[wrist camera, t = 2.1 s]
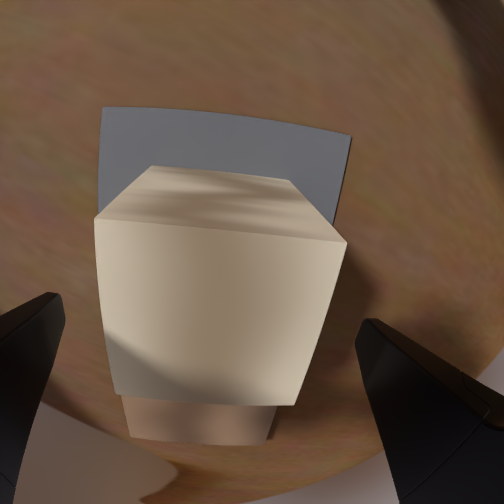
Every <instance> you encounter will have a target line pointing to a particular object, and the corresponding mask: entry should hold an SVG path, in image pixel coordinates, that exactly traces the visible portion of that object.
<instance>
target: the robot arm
mask: <svg viewBox="0 0 504 504" xmlns="http://www.w3.org/2000/svg"><path fill="white" fill-rule="evenodd" d="M64 326H65V313H64V308H63V303H62V298H61V296H60V294H58V293H52V292H46V293H44V294H42V295H40V296H38V297H36V298H34V299H32V300H30V301H28V302H26V303H24V304H22V305H20V306H18V307H16V308H14V309H12V310H11V311H9V312H7V313H5V314H3V315H1V316H0V504H13V499H14V494H15V489H16V488H15V487H16V484H17V479H18V475H19V471H20V467H21V463H22V458H23V455H24V452H25V448H26V445H27V441H28V437H29V434H30V431H31V428H32V424H33V421H34V418H35V415H36V412H37V409H38V406H39V403H40V400H41V397H42V394H43V392H44V389H45V386H46V383H47V381H48V378H49V375H50V373H51V370H52V367H53V364H54V360H55V357H56V353H57V350H58V346H59V342H60V339H61V336H62V332H63V329H64ZM355 348H356V352H357V356H358V361H359V365H360V370H361V374H362V379H363V383H364V387H365V390H366V393H367V396H368V399H369V402H370V406H371V409H372V412H373V415H374V418H375V421H376V424H377V427H378V431H379V434H380V437H381V440H382V443H383V447H384V450H385V453H386V457H387V460H388V463H389V467H390V470H391V474H392V478H393V481H394V485H395V488H396V492H397V496H398V499H399V501H400V502H399V504H504V396H503V395H501V394H499V393H498V392H496V391H494V390H492V389H490V388H489V387H487V386H485V385H483V384H482V383H480V382H478V381H477V380H475V379H473V378H472V377H470V376H468V375H467V374H465V373H464V372H460V370H459V369H457V368H456V367H454V366H452V365H451V364H449V363H448V362H446V361H445V360H443V359H441V358H440V357H438V356H437V355H435V354H433V353H432V352H430V351H429V350H427V349H425V348H424V347H422V346H421V345H419V344H417V343H416V342H414V341H413V340H411V339H409V338H408V337H406V336H405V335H403V334H401V333H400V332H398V331H397V330H395V329H393V328H392V327H390V326H389V325H387V324H385V323H384V322H382V321H380V320H379V319H377V318H366V319H364V321H363V322H362V325H361V327H360V330H359V332H358V335H357V337H356V340H355Z"/></svg>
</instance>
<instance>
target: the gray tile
mask: <svg viewBox="0 0 504 504" xmlns="http://www.w3.org/2000/svg"><path fill="white" fill-rule="evenodd" d="M350 140H351V136H349V135H345V134H341V133H336V132H332V131H327V130H322V129H318V128H313V127H307V126H302V125H297V124H291V123H286V122H280V121H274V120H267V119H261V118H254V117H247V116H239V115H231V114H223V113H213V112H203V111H192V110H179V109H164V108H142V107H102V118H101V130H100V146H99V169H98V214H99V213H100V212H101V211H102V210H103V209H104V208H105V207H106V206H108V205H109V204H110V203H111V202H112V201H113V200H114V199H115V198H116V197H117V196H118V195H119V194H120V193H121V192H122V191H124V190H125V189H126V188H127V187H128V186H129V185H130V184H131V183H132V182H133V181H135V180H136V179H137V178H138V177H139V176H140V175H141V174H142V173H144V172H145V171H146V170H147V169H148V168H149V167H150V166H152V165H153V166H167V167H179V168H190V169H201V170H211V171H221V172H230V173H239V174H247V175H255V176H263V177H270V178H278V179H285V180H289V181H290V182H291V183H292V184H293V185H294V186H295V187H296V188H297V189H298V190H299V191H300V192H301V193H302V194H303V195H304V196H305V197H306V199H307V200H308V201H309V202H310V203H311V204H312V205H313V206H314V207H315V208H316V209H317V210H318V211H319V212H320V214H321V215H322V216H323V217H324V218H325V219H326V220H327V221H328V222H329V223H330V224H331V226H332V224H333V219H334V215H335V211H336V207H337V202H338V198H339V193H340V189H341V184H342V180H343V175H344V170H345V165H346V160H347V156H348V151H349V145H350Z"/></svg>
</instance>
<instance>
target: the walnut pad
mask: <svg viewBox="0 0 504 504" xmlns="http://www.w3.org/2000/svg"><path fill="white" fill-rule="evenodd" d="M121 397H122V402H123V406H124V411H125V415H126V420H127V424H128V428H129V432H130V436H131V437H135V438H142V439H149V440H158V441H167V442H177V443H190V444H206V445H264V444H265V441H266V438H267V436H268V433H269V430H270V427H271V424H272V421H273V419H274V416H275V413H276V410H277V407H278V405H275V406H252V405H219V404H201V403H187V402H176V401H166V400H157V399H148V398H140V397H133V396H126V395H121Z"/></svg>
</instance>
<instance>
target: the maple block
mask: <svg viewBox="0 0 504 504" xmlns="http://www.w3.org/2000/svg"><path fill="white" fill-rule="evenodd" d="M94 228H95V249H96V264H97V276H98V287H99V296H100V305H101V313H102V321H103V328H104V335H105V341H106V347H107V353H108V359H109V364H110V369H111V375H112V380H113V384H114V389H115V394H120V395H126V396H133V397H140V398H148V399H157V400H166V401H176V402H187V403H201V404H219V405H252V406H275V405H294V404H295V401H296V399H297V396H298V394H299V391H300V388H301V386H302V383H303V380H304V378H305V375H306V372H307V369H308V367H309V364H310V361H311V358H312V355H313V353H314V350H315V347H316V344H317V341H318V338H319V335H320V332H321V329H322V326H323V323H324V320H325V317H326V314H327V310H328V307H329V304H330V301H331V298H332V294H333V291H334V288H335V285H336V281H337V278H338V274H339V271H340V267H341V264H342V260H343V257H344V253H345V250H346V246H347V242H346V241H345V240H344V239H343V238H342V237H341V236H340V234H339V233H338V232H337V231H336V230H335V229H334V228H333V227H332V226H331V224H330V223H329V222H328V221H327V220H326V219H325V218H324V217H323V216H322V215H321V214H320V212H319V211H318V210H317V209H316V208H315V207H314V206H313V205H312V204H311V203H310V202H309V201H308V200H307V199H306V197H305V196H304V195H303V194H302V193H301V192H300V191H299V190H298V189H297V188H296V187H295V186H294V185H293V184H292V183H291V182H290V181H289V180H285V179H278V178H270V177H263V176H255V175H247V174H239V173H230V172H221V171H211V170H201V169H190V168H179V167H167V166H153V165H152V166H150V167H149V168H148V169H147V170H146V171H145V172H144V173H142V174H141V175H140V176H139V177H138V178H137V179H136V180H135V181H133V182H132V183H131V184H130V185H129V186H128V187H127V188H126V189H125V190H124V191H122V192H121V193H120V194H119V195H118V196H117V197H116V198H115V199H114V200H113V201H112V202H111V203H110V204H109V205H108V206H106V207H105V208H104V209H103V210H102V211H101V212H100V213H99V214H98V215H97V216H96V217H95V218H94Z"/></svg>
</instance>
